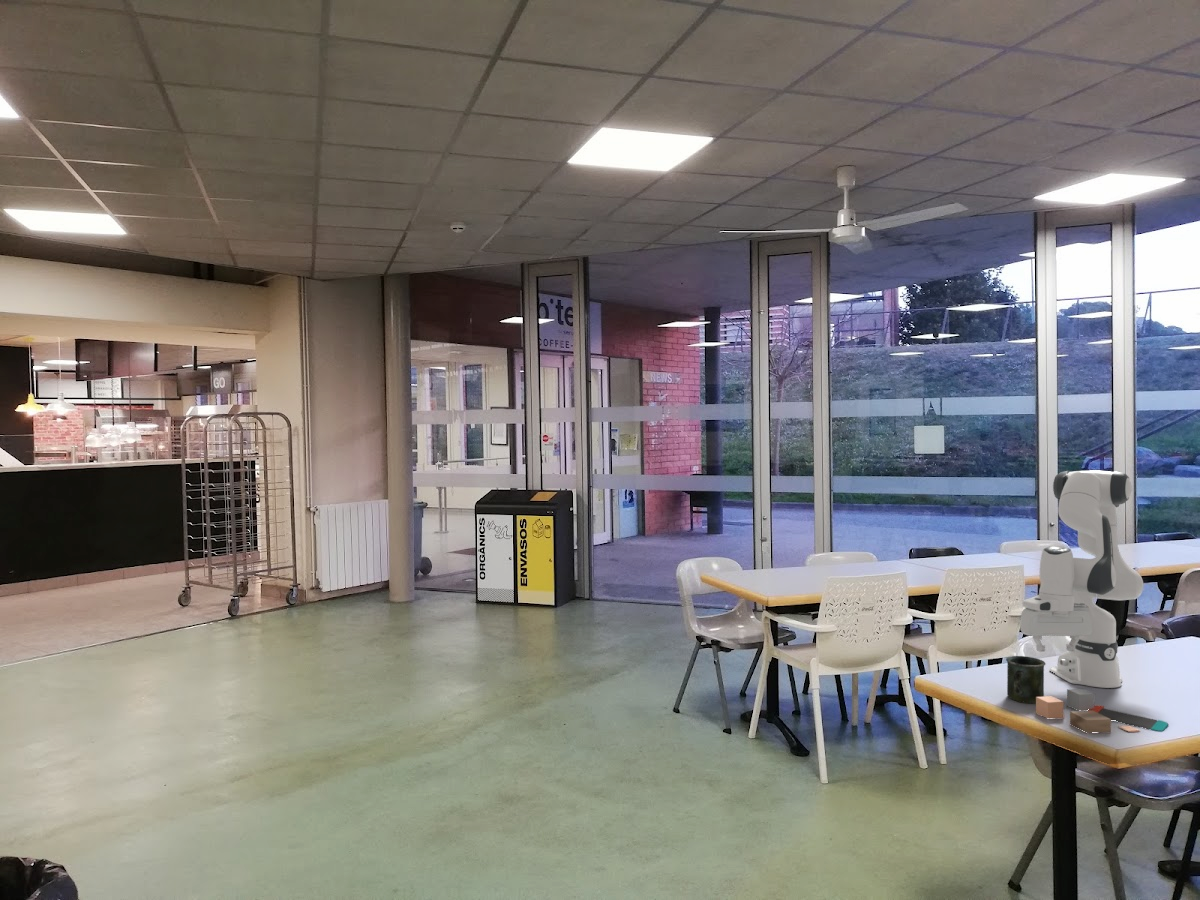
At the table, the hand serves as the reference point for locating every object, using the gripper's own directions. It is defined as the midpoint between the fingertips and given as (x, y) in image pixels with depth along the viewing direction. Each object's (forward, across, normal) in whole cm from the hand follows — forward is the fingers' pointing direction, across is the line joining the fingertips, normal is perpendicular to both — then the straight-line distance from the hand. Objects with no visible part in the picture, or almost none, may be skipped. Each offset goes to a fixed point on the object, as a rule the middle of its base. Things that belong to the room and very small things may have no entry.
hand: (1055, 651), depth 232 cm
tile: (+20, -15, +10) cm, 27 cm away
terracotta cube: (+20, -1, -3) cm, 20 cm away
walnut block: (+20, -5, +8) cm, 22 cm away
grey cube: (+19, -15, -8) cm, 26 cm away
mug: (+19, -2, -17) cm, 26 cm away
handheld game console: (+20, -21, +2) cm, 29 cm away
